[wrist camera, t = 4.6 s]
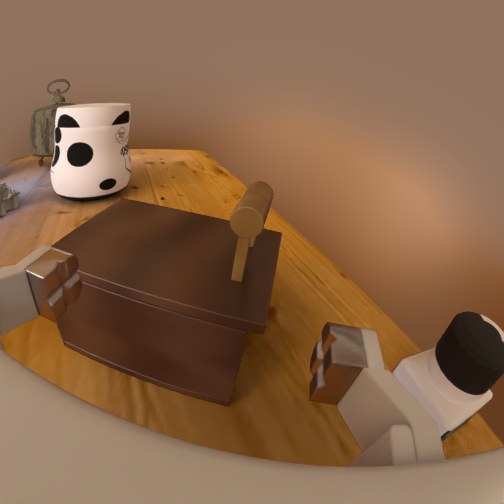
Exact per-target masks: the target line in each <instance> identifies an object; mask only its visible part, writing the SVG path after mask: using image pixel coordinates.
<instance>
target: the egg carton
mask: <svg viewBox="0 0 504 504" xmlns="http://www.w3.org/2000/svg"><path fill="white" fill-rule="evenodd" d="M18 194H20V192H18V191H17V192H16V191H15V190H13V193H12V191H11V189H10V187H9V186H7V185H5V183H4V184H1V185H0V216H3V215H5V214H6V211H7V210H10V209H16V208H17V207H18V204H19V197H18Z"/></svg>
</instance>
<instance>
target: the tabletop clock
mask: <svg viewBox="0 0 504 504" xmlns="http://www.w3.org/2000/svg"><path fill="white" fill-rule="evenodd" d="M55 82H66V83H67V84H68V88H67V89H66V90H64V91H60V90H59V89H57V90H56V92H51V91H49V89H48V88H49V86H50V85H51V84H52V83H55ZM69 87H70V84H69V82H68V81H67V80H64V79H59V80H54V81H52V82H51V83H50V84H49V85H48V87H47V91H48V92H49V93H50V94H56V95H55V96H53V97H52V98H51V99H50V100H49V102H48V103H49V104H50V103H55V104H54V105H49V106H45V107H41V108H39V109H37V110H35V111H34V113H33V115H32V119H31V126H30V144H31V149H32V152H33V155H35V156H38V157H41V160H39V162H38V163H39V165H42V164H43V158H44V157H52V159H53V156H54V148H55V139H54V130H55V118H56V112H57V108H58V107H63V106H70V105H76V104H71V103H61V104H58V103H60V102H65V98H64V97H63V96H62V95H59V94H61V93H64V92H66V91H67V90H68V89H69ZM51 165H52V164H51Z"/></svg>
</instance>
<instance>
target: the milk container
mask: <svg viewBox="0 0 504 504" xmlns="http://www.w3.org/2000/svg"><path fill="white" fill-rule="evenodd" d="M130 118H131V105H130V104H126V103H94V104H80V105H70V106H63V107H58V108H57V112H56V118H55V130H54V139H55V148H54V156H53V161H52V165H51V182H52V186H53V189H54V191H55V192H56V193H57V194H58V195H59V196H61V197H63V198H67V199H70V200H94V199H99V198H105V197H108V196H111V195H114V194H117V193H118V192H120V191H121V190H123V189H124V188H125V187H126V186H127V184H128V182H129V178H130V173H131V161H130V156H129V150H128V135H129V127H130V123H129V122H130Z"/></svg>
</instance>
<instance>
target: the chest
mask: <svg viewBox="0 0 504 504" xmlns="http://www.w3.org/2000/svg"><path fill="white" fill-rule="evenodd" d="M81 281H82V280H81ZM57 325H58V328H59V331H60V334H61V336H62V339H63V342H64V345H65V346H66V347H68V348H70V349H72V350H74V351H76V352H79V353H81V354H83V355H85V356H87V357H89V358H91V359H93V360H96V361H98V362H100V363H102V364H105V365H107V366H109V367H111V368H114V369H116V370H119V371H121V372H124V373H126V374H129V375H131V376H134V377H136V378H139V379H141V380H144V381H147V382H150V383H152V384H155V385H158V386H161V387H164V388H167V389H170V390H173V391H176V392H179V393H182V394H185V395H189V396H192V397H195V398H199V399H202V400H206V401H210V402H213V403H217V404H221V405H225V406H229V404H230V401H231V397H232V393H233V389H234V385H235V381H236V378H237V374H238V370H239V366H240V362H241V358H242V354H243V350H244V346H245V342H246V338H247V335H248V331H245V330H241V329H237V328H233V327H229V326H225V325H222V324H218V323H214V322H210V321H206V320H203V319H199V318H196V317H192V316H188V315H185V314H182V313H178V312H175V311H171V310H168V309H165V308H161V307H158V306H155V305H152V304H149V303H145V302H142V301H139V300H136V299H133V298H130V297H127V296H124V295H121V294H118V293H115V292H112V291H109V290H107V289H104V288H101V287H98V286H95V285H93V284H90V283H87V282H84V281H82V290H81V293H80V295H79V298H78V299H77V300H76V301H75V302H74V303H73V304H70V305H67V311H66V312H65V313H64V314H63V315H62V316H61V318H60V319H59V320H58V321H57Z"/></svg>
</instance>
